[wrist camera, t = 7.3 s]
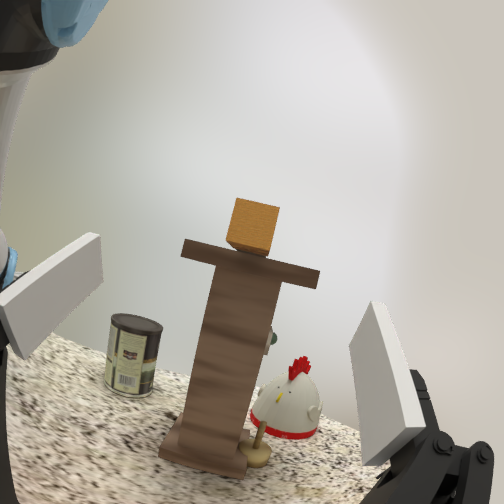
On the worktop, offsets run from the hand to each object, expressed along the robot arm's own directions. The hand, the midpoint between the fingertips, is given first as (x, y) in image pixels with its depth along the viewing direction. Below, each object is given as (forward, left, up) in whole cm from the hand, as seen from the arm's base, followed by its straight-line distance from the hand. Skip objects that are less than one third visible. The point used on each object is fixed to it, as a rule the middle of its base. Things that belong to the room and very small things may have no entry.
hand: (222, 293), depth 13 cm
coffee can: (-31, +29, -27) cm, 50 cm away
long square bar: (-7, +20, +3) cm, 21 cm away
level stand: (-9, +24, -27) cm, 37 cm away
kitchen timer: (-2, +43, -27) cm, 51 cm away
